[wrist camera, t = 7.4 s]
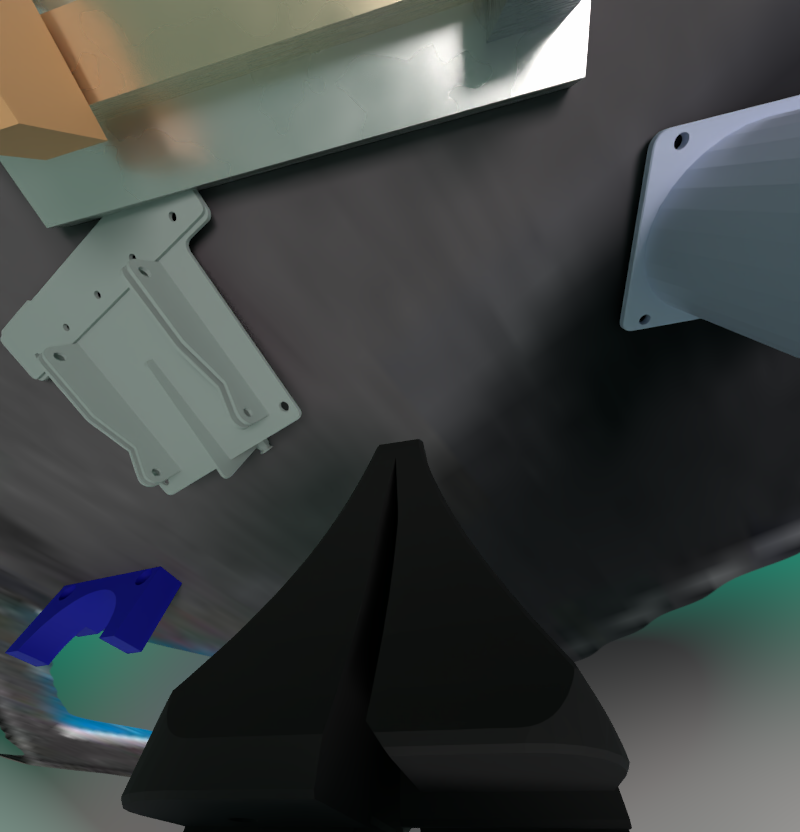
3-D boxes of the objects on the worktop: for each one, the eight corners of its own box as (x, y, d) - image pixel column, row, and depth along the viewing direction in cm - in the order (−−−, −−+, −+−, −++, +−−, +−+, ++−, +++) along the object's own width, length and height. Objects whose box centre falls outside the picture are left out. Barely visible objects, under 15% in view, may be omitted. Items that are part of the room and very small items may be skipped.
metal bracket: (328, 425, 14) (132, 537, 19) (365, 391, 20) (205, 485, 24) (98, 88, 11) (-65, 319, 16) (215, 156, 17) (66, 314, 22)
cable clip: (101, 605, 35) (50, 672, 30) (66, 584, 33) (4, 652, 28) (192, 589, 33) (154, 659, 28) (161, 564, 31) (113, 635, 26)
